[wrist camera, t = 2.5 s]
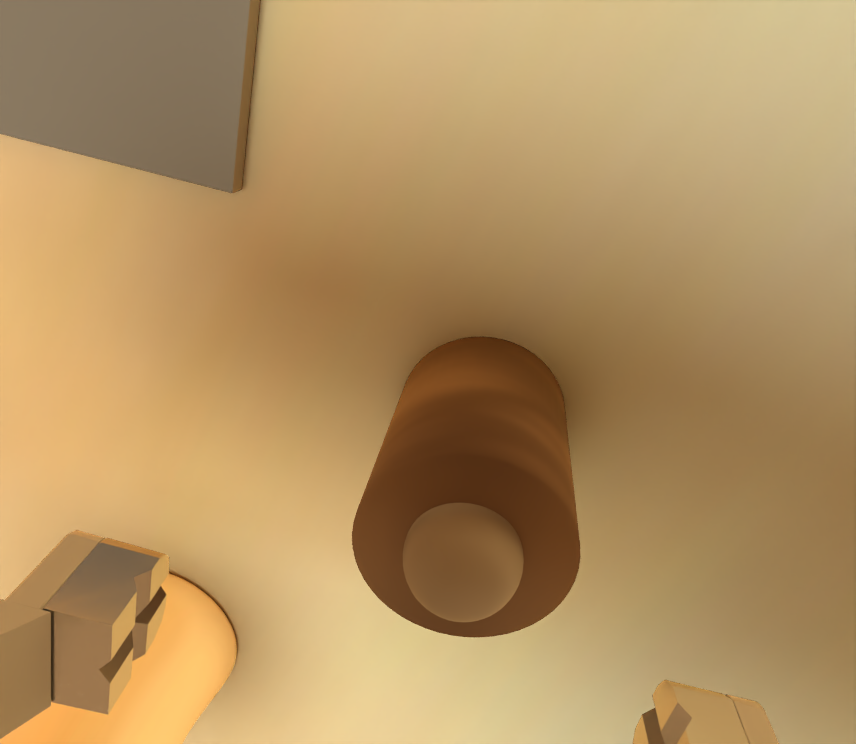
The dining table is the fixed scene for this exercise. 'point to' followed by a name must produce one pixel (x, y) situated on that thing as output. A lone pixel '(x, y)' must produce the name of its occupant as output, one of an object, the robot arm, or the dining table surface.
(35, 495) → the dining table surface
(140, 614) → the robot arm
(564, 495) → the pepper mill
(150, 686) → the beer glass
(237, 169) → the coaster
